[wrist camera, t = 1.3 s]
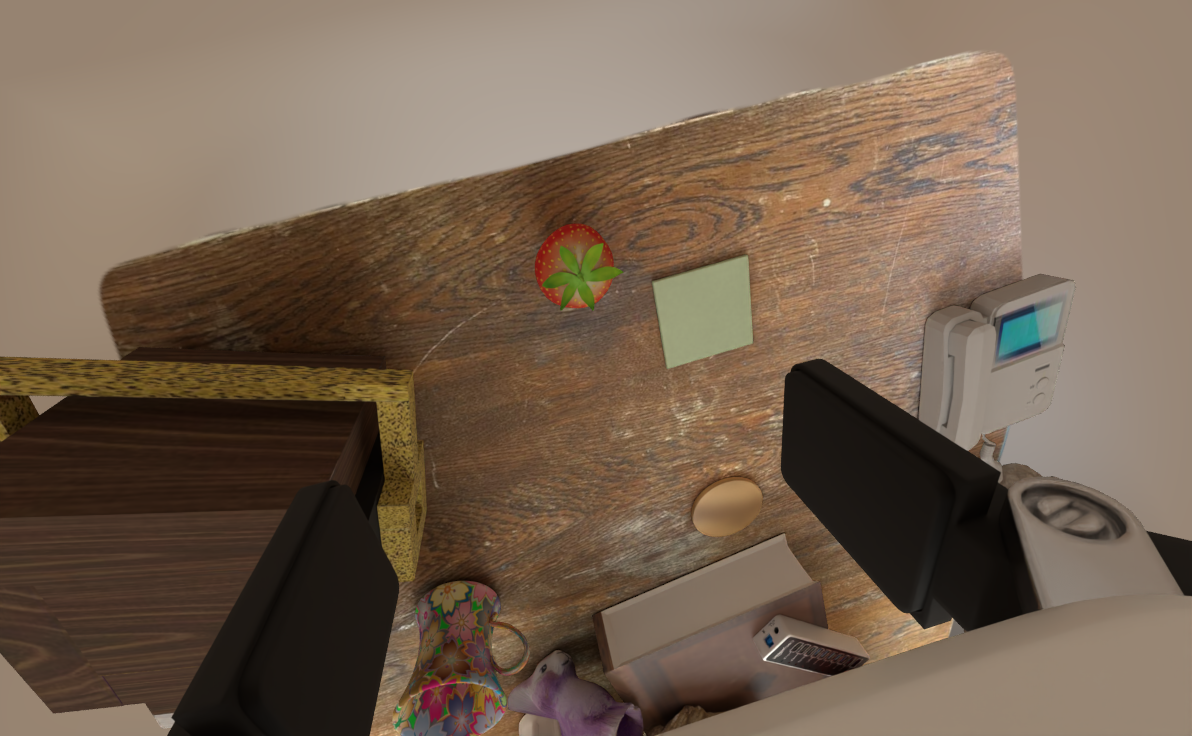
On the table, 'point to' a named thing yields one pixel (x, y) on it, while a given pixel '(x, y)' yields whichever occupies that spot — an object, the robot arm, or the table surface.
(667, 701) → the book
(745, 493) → the coaster
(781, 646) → the multiport hub
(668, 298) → the napkin
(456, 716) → the mug
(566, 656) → the figurine
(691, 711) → the rock
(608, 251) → the fruit
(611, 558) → the table surface
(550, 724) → the cup
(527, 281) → the table surface
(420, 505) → the brown wooden box
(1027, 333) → the intercom
